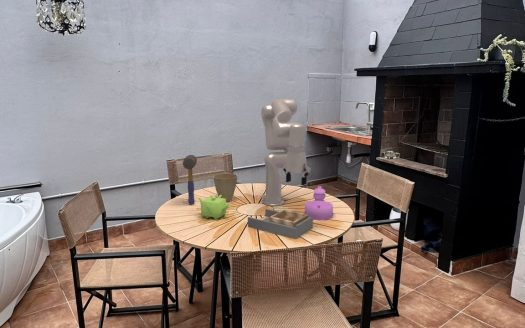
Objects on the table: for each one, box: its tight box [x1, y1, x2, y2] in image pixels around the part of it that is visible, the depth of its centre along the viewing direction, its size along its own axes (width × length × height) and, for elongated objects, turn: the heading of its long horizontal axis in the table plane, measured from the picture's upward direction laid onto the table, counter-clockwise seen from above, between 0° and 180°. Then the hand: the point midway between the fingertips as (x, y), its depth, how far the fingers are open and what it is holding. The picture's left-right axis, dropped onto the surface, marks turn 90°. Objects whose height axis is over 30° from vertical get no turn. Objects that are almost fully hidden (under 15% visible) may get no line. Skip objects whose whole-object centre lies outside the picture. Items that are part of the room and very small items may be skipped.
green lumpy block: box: [197, 195, 231, 220], centre depth 206 cm, size 15×14×11 cm
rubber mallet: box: [182, 154, 198, 206], centre depth 226 cm, size 12×8×30 cm, turn 3°
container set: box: [304, 185, 334, 221], centre depth 213 cm, size 25×15×13 cm, turn 171°
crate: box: [269, 209, 308, 227], centre depth 187 cm, size 14×14×6 cm
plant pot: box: [212, 172, 238, 203], centre depth 235 cm, size 15×15×16 cm
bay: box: [247, 208, 314, 240], centre depth 190 cm, size 28×17×6 cm, turn 56°
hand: (296, 183), depth 188 cm, fingers open, 9 cm apart
